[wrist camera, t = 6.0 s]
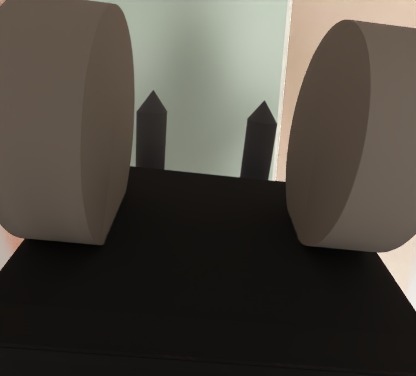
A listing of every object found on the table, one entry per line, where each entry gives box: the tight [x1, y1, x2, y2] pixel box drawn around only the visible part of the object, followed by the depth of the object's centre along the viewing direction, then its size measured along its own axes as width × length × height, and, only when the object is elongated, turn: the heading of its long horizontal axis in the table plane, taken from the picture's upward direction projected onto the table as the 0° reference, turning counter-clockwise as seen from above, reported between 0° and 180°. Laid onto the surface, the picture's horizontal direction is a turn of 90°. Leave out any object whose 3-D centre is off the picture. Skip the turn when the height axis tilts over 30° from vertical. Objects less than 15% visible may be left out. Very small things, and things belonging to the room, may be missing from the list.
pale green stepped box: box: [89, 0, 292, 181], centre depth 20 cm, size 19×13×7 cm
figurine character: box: [0, 0, 416, 376], centre depth 9 cm, size 7×8×15 cm
